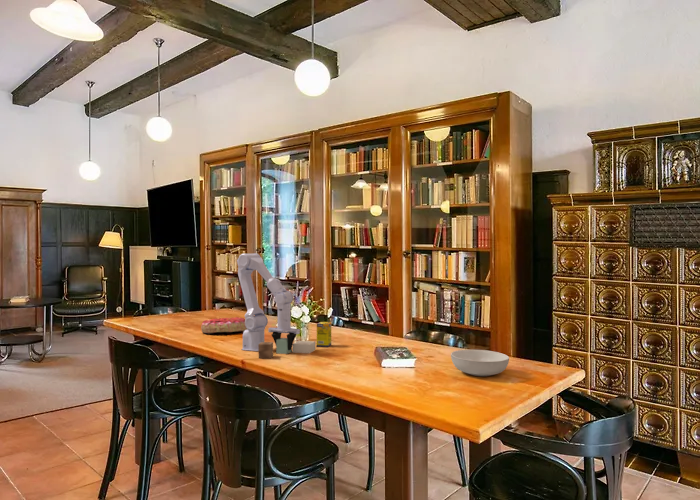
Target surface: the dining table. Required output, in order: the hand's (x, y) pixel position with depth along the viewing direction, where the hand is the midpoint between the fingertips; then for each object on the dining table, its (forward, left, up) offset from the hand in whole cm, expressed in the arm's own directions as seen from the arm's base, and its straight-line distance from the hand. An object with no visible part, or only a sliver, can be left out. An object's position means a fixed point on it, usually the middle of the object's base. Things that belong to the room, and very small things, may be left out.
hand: (284, 349), depth 222 cm
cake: (-56, +39, -2) cm, 68 cm away
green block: (0, 0, -1) cm, 1 cm away
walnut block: (-3, -11, -2) cm, 12 cm away
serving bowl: (+85, -9, -2) cm, 85 cm away
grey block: (+7, +6, -2) cm, 9 cm away
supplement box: (+11, +20, -2) cm, 23 cm away
